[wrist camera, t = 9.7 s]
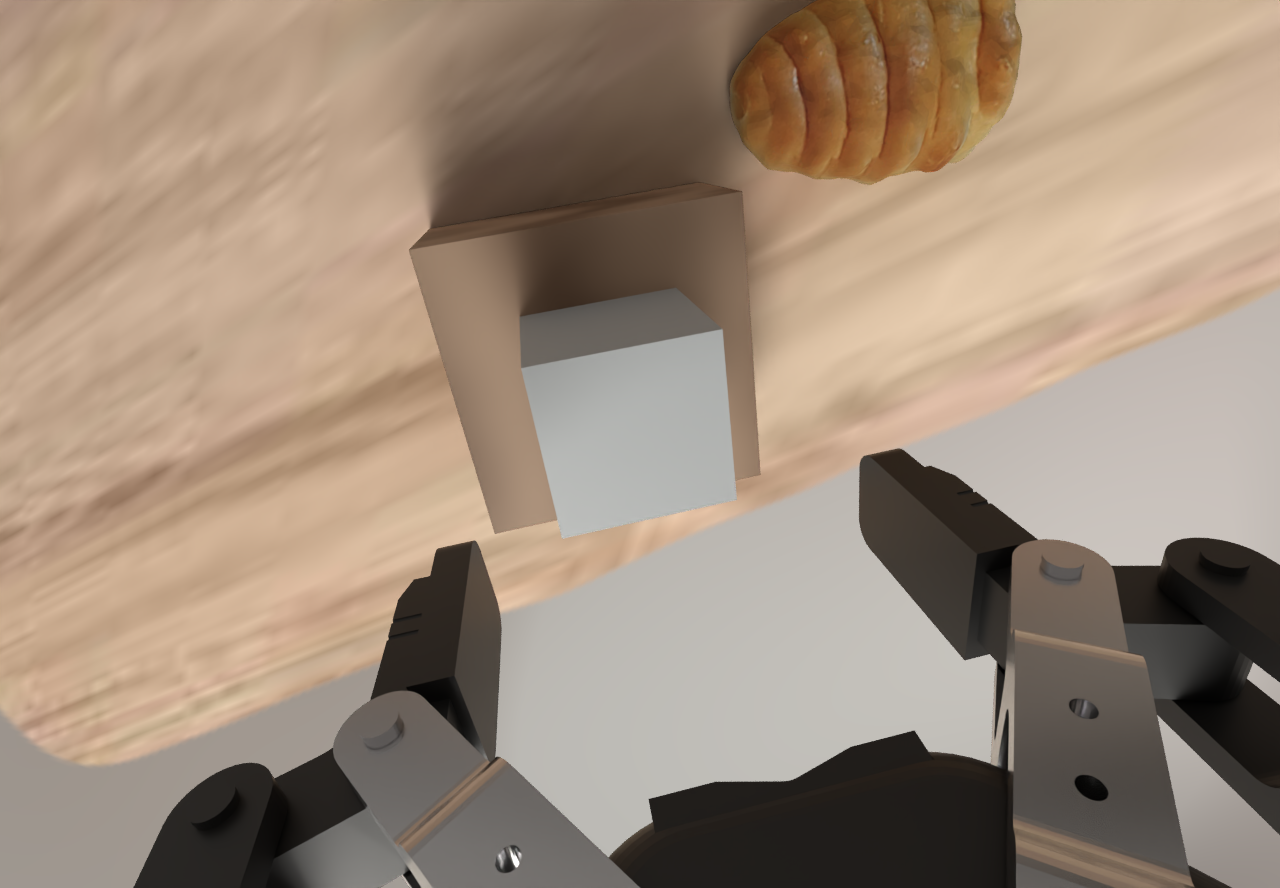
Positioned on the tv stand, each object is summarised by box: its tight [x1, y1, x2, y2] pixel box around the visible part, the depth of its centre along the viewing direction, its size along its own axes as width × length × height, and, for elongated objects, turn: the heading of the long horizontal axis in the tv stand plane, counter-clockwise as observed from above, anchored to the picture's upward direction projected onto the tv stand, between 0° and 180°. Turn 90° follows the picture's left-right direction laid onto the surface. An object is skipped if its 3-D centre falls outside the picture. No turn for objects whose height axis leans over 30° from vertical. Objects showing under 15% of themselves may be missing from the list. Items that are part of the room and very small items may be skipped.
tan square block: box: [409, 182, 760, 534], centre depth 23 cm, size 10×10×5 cm
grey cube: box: [519, 288, 737, 539], centre depth 19 cm, size 5×5×5 cm
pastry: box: [730, 0, 1022, 185], centre depth 21 cm, size 9×7×4 cm
